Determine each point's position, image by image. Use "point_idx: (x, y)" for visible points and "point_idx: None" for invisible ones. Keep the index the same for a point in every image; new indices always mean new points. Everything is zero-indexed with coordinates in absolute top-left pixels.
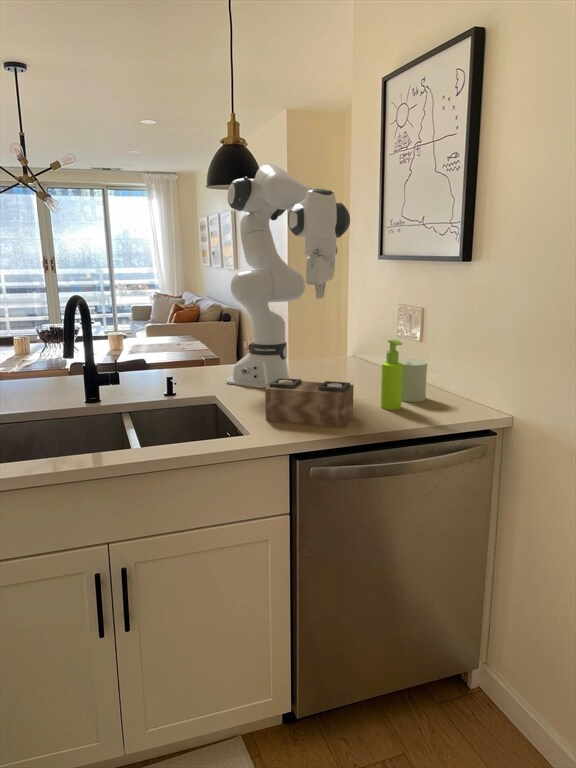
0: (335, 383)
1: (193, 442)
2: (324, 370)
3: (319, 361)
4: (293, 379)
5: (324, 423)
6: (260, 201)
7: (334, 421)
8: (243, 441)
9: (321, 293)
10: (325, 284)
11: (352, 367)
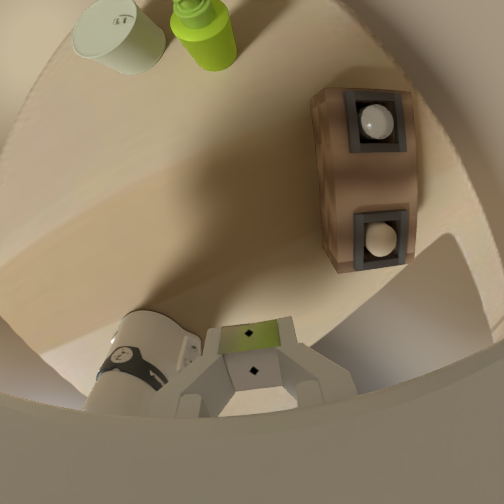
0: (365, 122)
1: (473, 277)
2: (40, 287)
3: (12, 314)
4: (361, 232)
5: None
6: None
7: None
8: (467, 224)
9: (296, 341)
10: (162, 400)
11: (5, 251)
